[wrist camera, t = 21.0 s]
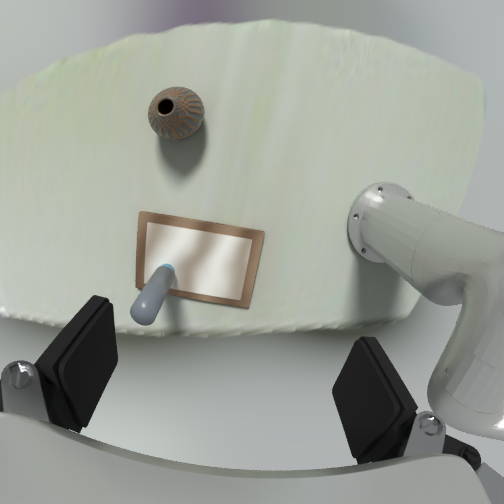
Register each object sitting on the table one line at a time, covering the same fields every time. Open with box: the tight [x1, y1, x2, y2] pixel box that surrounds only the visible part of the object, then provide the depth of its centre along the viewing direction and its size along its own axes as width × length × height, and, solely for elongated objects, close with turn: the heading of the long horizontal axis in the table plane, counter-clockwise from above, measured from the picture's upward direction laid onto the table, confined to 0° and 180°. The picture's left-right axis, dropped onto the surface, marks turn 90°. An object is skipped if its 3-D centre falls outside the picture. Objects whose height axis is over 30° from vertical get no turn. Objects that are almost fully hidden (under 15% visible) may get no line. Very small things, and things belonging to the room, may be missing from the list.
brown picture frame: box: [136, 211, 265, 308], centre depth 40 cm, size 18×12×1 cm, turn 79°
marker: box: [130, 264, 175, 325], centre depth 34 cm, size 3×3×12 cm
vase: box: [148, 87, 204, 140], centre depth 30 cm, size 7×7×9 cm
